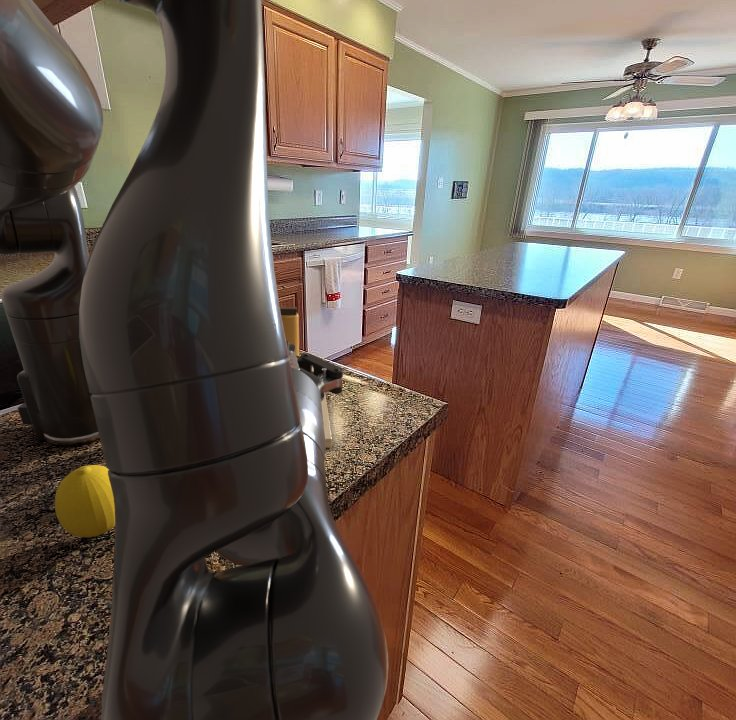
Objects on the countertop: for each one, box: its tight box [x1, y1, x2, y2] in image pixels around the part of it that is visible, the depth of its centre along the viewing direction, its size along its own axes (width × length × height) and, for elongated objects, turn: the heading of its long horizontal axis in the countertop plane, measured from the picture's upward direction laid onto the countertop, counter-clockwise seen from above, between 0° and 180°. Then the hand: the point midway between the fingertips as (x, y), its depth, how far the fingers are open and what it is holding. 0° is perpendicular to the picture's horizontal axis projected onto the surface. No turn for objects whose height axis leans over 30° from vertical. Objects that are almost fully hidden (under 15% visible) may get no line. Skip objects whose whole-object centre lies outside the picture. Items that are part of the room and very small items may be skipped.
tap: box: [280, 306, 300, 356], centre depth 65 cm, size 9×4×13 cm, turn 99°
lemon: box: [54, 464, 115, 538], centre depth 38 cm, size 6×6×8 cm
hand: (282, 348), depth 47 cm, fingers closed
